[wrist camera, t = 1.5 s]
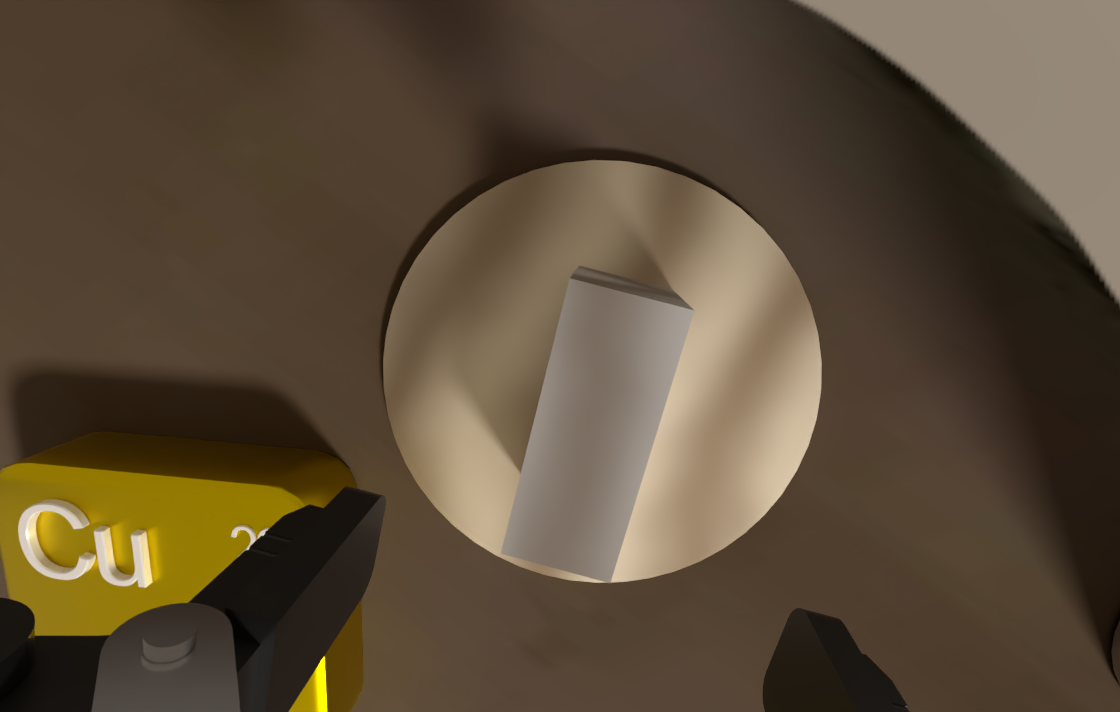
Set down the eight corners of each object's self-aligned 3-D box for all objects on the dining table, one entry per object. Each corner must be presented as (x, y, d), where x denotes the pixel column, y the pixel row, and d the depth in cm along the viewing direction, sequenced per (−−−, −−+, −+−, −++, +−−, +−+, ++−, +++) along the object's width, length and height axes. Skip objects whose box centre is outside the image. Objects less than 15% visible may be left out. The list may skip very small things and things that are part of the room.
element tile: (108, 676, 32) (21, 754, 27) (70, 424, 28) (-37, 464, 23) (367, 708, 30) (324, 795, 26) (360, 450, 27) (309, 497, 22)
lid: (880, 226, 23) (994, 225, 16) (734, 613, 27) (776, 740, 21) (432, 113, 23) (361, 66, 17) (361, 512, 28) (282, 604, 21)
